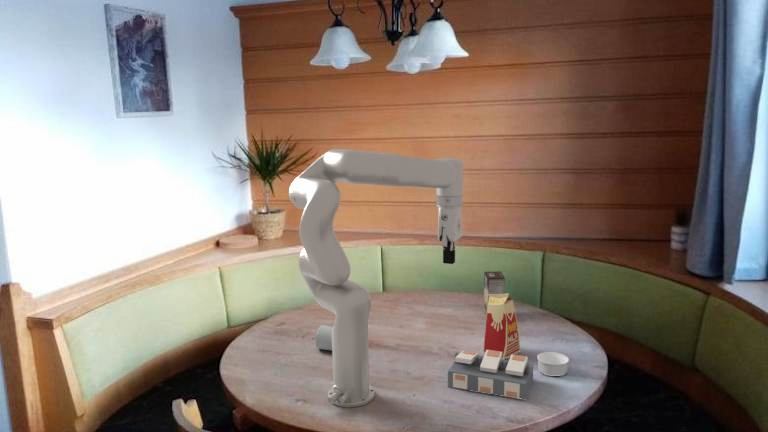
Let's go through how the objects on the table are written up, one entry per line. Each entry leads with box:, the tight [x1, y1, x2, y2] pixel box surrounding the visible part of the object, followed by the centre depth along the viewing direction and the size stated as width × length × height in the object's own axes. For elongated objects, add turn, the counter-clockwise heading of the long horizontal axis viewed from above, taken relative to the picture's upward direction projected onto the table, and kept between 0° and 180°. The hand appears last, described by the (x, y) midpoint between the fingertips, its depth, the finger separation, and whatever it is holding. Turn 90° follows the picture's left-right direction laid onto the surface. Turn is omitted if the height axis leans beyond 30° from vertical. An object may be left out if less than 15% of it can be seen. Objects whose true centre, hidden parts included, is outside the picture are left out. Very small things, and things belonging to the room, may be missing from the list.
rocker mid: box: [480, 350, 502, 373], centre depth 159 cm, size 8×4×1 cm, turn 156°
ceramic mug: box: [315, 324, 333, 352], centre depth 186 cm, size 11×8×8 cm
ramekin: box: [536, 351, 570, 375], centre depth 167 cm, size 9×9×4 cm
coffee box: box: [483, 270, 506, 317], centre depth 212 cm, size 9×6×16 cm
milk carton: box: [482, 292, 521, 360], centre depth 179 cm, size 9×9×20 cm
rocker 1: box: [454, 350, 479, 364], centre depth 162 cm, size 8×4×1 cm, turn 157°
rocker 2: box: [506, 354, 528, 376], centre depth 157 cm, size 8×4×1 cm, turn 157°
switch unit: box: [447, 352, 534, 399], centre depth 160 cm, size 13×21×7 cm, turn 67°
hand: (449, 262), depth 169 cm, fingers closed
